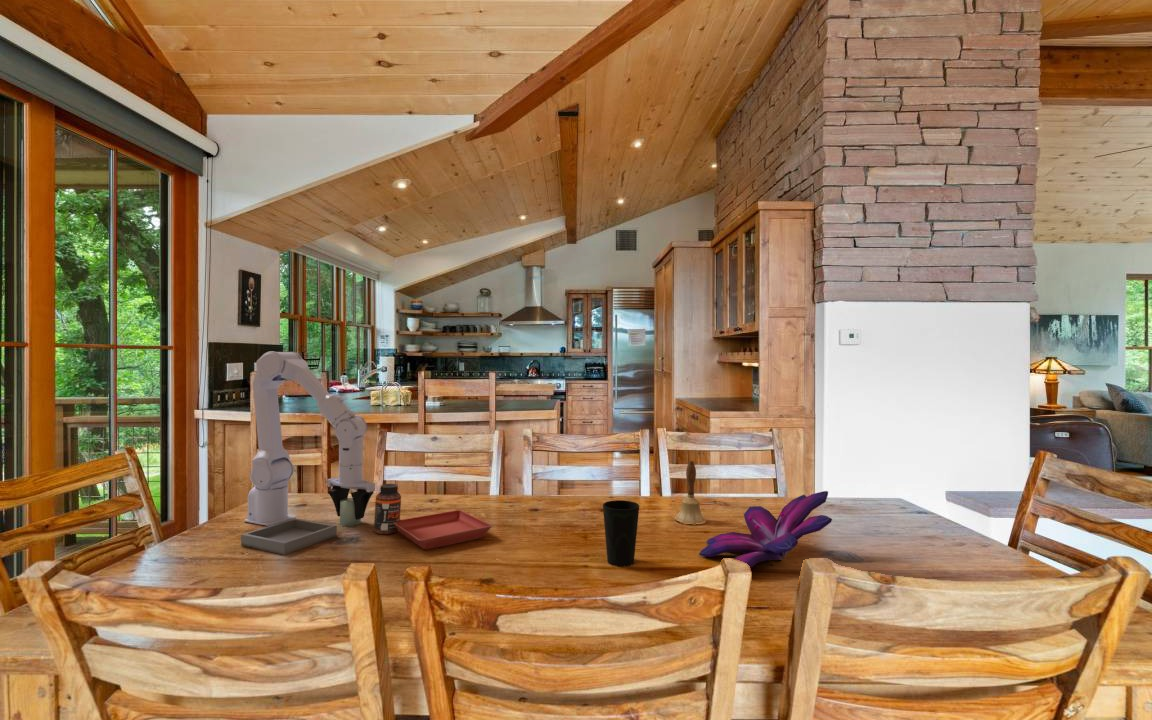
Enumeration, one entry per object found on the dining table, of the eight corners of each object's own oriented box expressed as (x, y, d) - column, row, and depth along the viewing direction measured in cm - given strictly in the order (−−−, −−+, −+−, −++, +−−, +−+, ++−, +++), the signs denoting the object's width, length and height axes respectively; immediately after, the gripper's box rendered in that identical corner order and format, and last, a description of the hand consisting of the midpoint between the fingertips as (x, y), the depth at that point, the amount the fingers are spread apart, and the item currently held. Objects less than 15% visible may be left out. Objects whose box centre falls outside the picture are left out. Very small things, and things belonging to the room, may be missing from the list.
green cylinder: (335, 524, 140) (335, 501, 140) (350, 519, 144) (351, 496, 144) (350, 527, 137) (350, 503, 138) (365, 522, 142) (365, 498, 142)
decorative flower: (734, 620, 101) (710, 569, 102) (703, 569, 131) (685, 530, 132) (886, 550, 101) (860, 500, 102) (819, 516, 131) (800, 477, 132)
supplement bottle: (389, 536, 130) (391, 489, 130) (368, 533, 132) (370, 486, 132) (404, 529, 136) (406, 484, 136) (384, 526, 138) (386, 481, 138)
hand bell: (713, 522, 144) (713, 461, 144) (690, 527, 140) (691, 464, 140) (689, 514, 151) (690, 457, 151) (667, 519, 146) (668, 459, 146)
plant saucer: (391, 534, 133) (391, 520, 133) (459, 521, 144) (460, 508, 144) (419, 555, 119) (419, 540, 119) (493, 539, 129) (493, 525, 129)
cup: (600, 555, 119) (600, 500, 119) (635, 554, 119) (635, 499, 119) (605, 569, 111) (605, 510, 111) (642, 568, 112) (642, 509, 112)
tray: (241, 545, 123) (241, 534, 123) (295, 528, 136) (295, 518, 136) (284, 554, 118) (284, 543, 118) (336, 536, 131) (336, 525, 131)
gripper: (384, 463, 142) (383, 516, 142) (342, 459, 147) (342, 509, 147) (363, 468, 135) (362, 523, 135) (320, 463, 141) (320, 516, 141)
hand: (350, 517), depth 141 cm, fingers open, 6 cm apart
